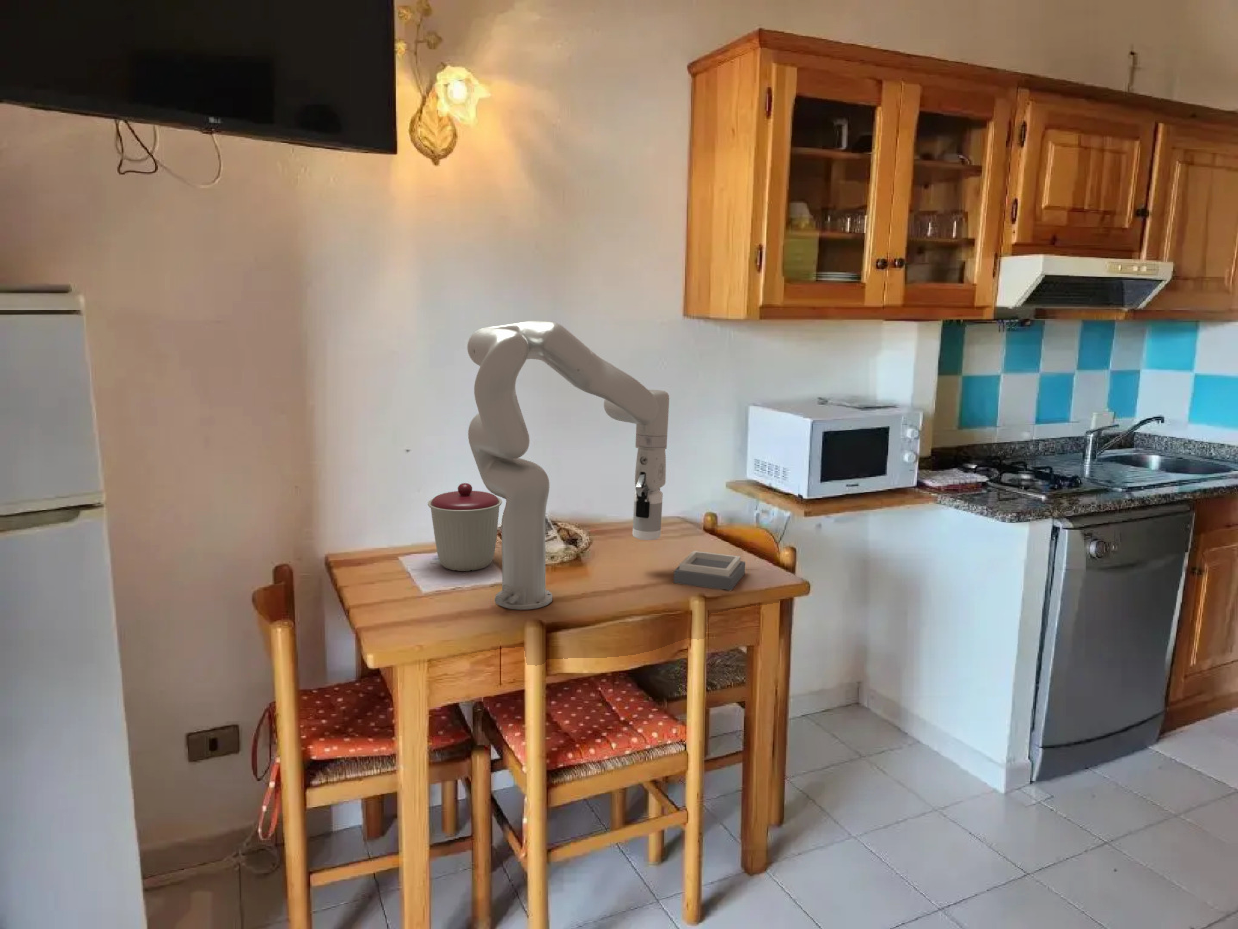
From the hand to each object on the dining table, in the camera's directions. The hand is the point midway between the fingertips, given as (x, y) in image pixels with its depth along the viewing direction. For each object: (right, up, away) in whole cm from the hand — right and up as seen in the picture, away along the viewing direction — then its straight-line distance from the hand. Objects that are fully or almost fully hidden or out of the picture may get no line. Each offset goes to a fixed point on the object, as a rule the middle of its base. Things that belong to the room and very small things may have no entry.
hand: (647, 513), depth 207 cm
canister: (-45, -14, +7) cm, 48 cm away
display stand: (+15, -16, 0) cm, 22 cm away
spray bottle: (0, -6, +1) cm, 6 cm away
